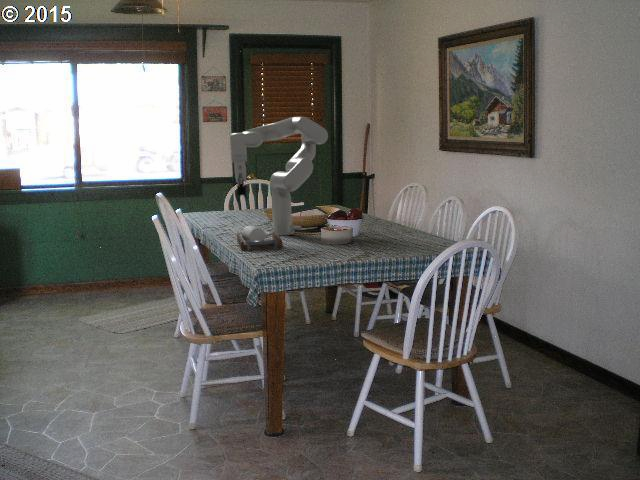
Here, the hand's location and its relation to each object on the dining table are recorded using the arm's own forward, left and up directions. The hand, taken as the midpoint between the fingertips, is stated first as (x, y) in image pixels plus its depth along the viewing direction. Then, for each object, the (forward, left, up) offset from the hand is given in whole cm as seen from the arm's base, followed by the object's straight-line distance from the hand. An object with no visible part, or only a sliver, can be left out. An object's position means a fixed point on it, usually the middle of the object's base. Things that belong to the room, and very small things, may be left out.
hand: (241, 193), depth 375 cm
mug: (-6, +14, -22) cm, 27 cm away
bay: (-6, +22, -22) cm, 32 cm away
